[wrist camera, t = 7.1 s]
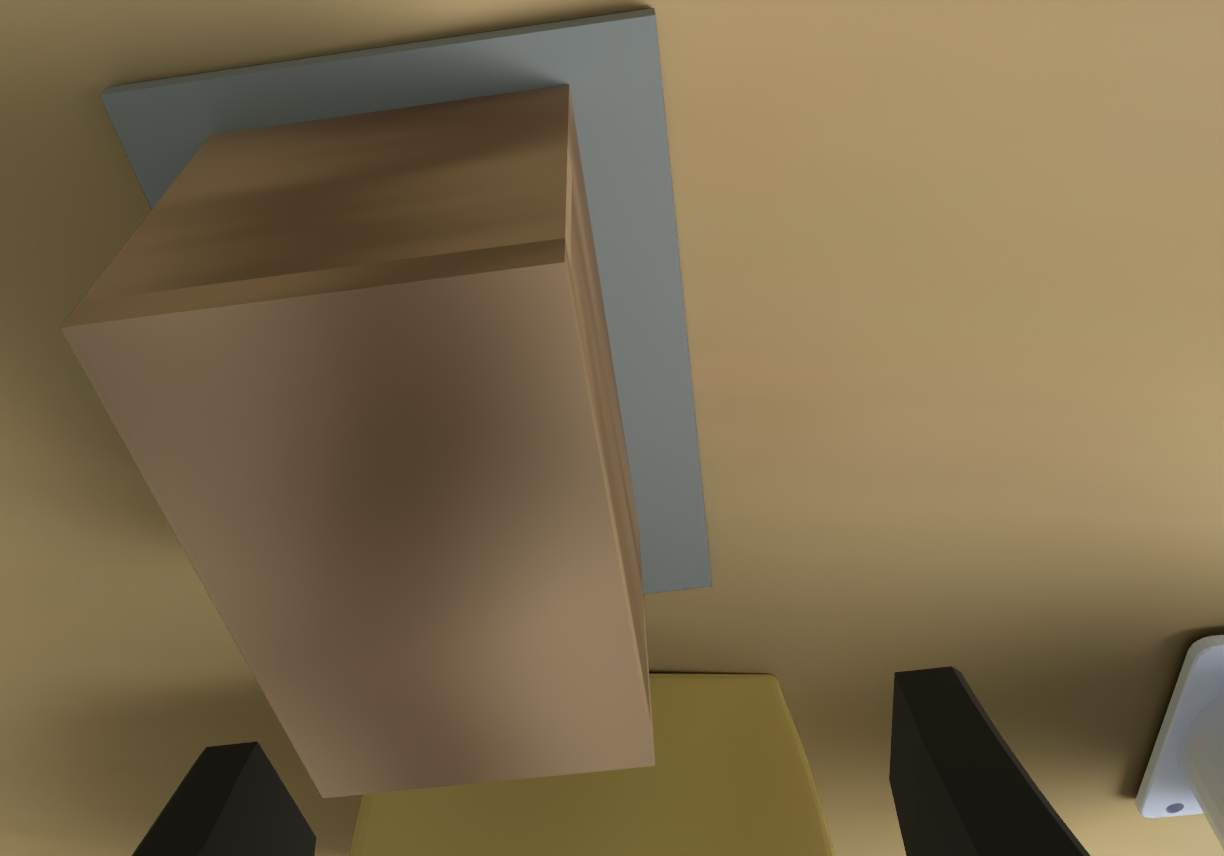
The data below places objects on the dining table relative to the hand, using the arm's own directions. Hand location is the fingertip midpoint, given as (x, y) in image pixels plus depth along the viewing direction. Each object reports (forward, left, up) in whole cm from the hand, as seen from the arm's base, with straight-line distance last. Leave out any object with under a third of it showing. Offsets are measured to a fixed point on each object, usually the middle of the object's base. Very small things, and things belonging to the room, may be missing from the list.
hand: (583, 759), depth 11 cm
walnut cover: (+3, 0, -9) cm, 10 cm away
